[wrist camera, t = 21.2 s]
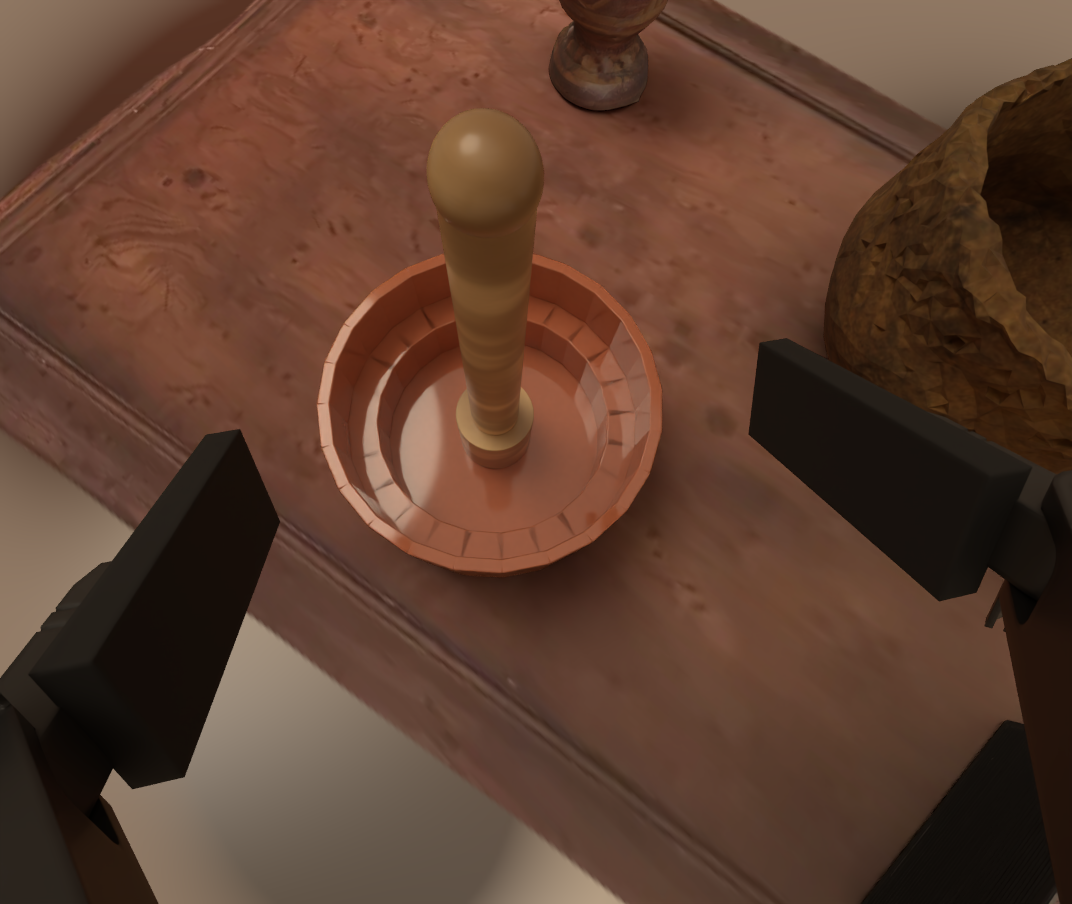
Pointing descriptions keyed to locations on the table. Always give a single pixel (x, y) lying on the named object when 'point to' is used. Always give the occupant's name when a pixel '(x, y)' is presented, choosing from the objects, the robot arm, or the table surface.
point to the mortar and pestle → (603, 52)
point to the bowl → (972, 273)
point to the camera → (979, 837)
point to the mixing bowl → (433, 436)
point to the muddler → (489, 270)
